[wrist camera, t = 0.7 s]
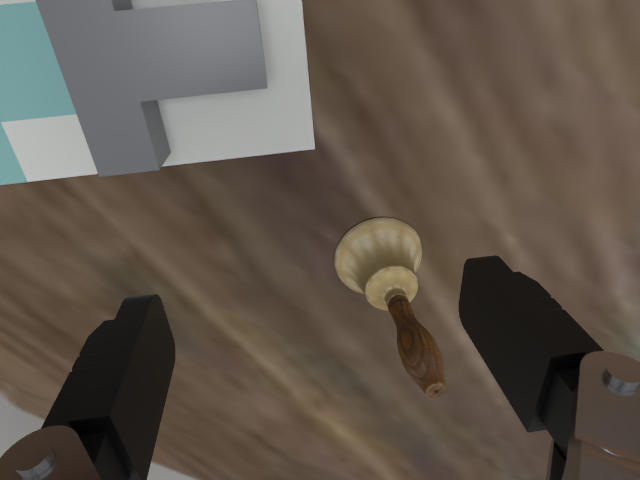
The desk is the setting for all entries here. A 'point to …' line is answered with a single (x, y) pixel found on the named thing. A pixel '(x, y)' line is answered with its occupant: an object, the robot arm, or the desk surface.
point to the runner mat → (198, 109)
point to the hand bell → (392, 290)
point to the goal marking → (26, 78)
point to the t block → (148, 68)
